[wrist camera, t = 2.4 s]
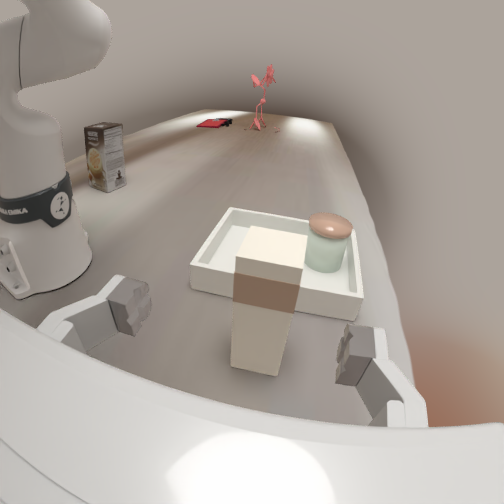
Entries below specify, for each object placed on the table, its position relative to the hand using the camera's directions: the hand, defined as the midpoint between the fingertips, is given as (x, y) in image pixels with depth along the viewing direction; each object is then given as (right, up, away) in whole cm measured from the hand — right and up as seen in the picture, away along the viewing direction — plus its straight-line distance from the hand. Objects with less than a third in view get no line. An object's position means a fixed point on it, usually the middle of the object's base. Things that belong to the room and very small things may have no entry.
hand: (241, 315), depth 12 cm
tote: (+5, 0, +34) cm, 34 cm away
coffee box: (-36, +19, +57) cm, 71 cm away
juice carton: (+1, -9, +20) cm, 22 cm away
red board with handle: (-18, +72, +141) cm, 159 cm away
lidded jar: (+11, +1, +34) cm, 36 cm away
